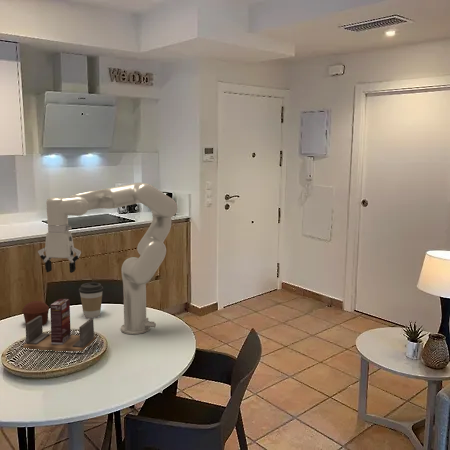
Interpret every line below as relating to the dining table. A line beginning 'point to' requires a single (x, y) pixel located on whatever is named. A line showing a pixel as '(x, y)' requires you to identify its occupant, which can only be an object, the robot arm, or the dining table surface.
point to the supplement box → (60, 321)
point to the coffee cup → (91, 299)
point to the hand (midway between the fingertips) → (60, 271)
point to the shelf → (43, 340)
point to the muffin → (36, 311)
